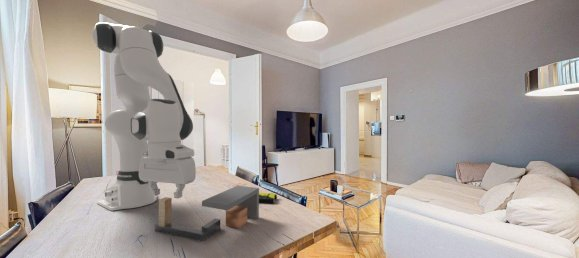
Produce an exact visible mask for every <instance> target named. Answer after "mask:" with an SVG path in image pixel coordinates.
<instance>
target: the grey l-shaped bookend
mask: <svg viewBox="0 0 579 258" xmlns="http://www.w3.org/2000/svg"><path fill="white" fill-rule="evenodd" d="M259 193H260V188H259V187H253V186H245V185H244V186H243V185H236V186H233V187H231V188H228V189H227V190H224V191H222V192H220V193H217V194H215V195H212V196H210V197H208V198H206V199H203V200H201V207H205V208H211V209H216V210H223V211H226V210H227V211H228V210H229V209H231V208H233V207H235V206H242V207H247V219H248V218H249V219H255V220H257V219H259V217H260V216H259V215H260V214H259V213H260V212H259V211H260V209H259V208H260V205H259V204H260V203H259Z"/></svg>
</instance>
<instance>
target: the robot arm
mask: <svg viewBox="0 0 579 258" xmlns="http://www.w3.org/2000/svg"><path fill="white" fill-rule="evenodd" d="M92 39H93V41H94V44H95V45H96V47H97V48H98V49H99V50H100V51H103V52H105V53H109V54H112V53H113V54H115V55H114V63H113V64H114V65H113V73H114V83H115V91H116V96H117V99H119V100H120V101H121V102H122V104H123V105H124V108H125V109H117V110H113V111H111V112H110V113H108V114H107V116H106V117H105V120H104V127H105V129H106V130H107V131H108V133H110V134H111V135H112V136H113V137H114V140H115V142H116V145H117V148H118V151H119V170H117V172H116V176H117V177H116V180H115V181H113V183H111V184H110V185H109V186H108V187H107V188H106V190H105V191H104V198H102V199H99V200H98V201H97V204H98V205H99V206H101V207H103V208H105V209H107V210H109V211H117V210H118V211H119V210H123V209H124V210H125V209H134V208H140V207H143V206H147V205H150V204H153V203H155V202H156V201H157V198H158V197H159V195H160V194H161V188H159V187H158V183H165V184H167V183H168V184H175V187H176V190H175V191H174V192H173V198H174V199H181V198H183V191H184V189H185V186H186V185H189V184H191V183H193V182H194V181H195V179H196V177H197V175H196V173H197V172H196V171H197V170H196V163H195V159H194V158H193V157H194V156H195V150H194V149H193V148H191V147H188V146H186V145H184V144H182V141H184V140H185V139H187V138H188V137H190V135H191V134H192V132H193V130H194V124H193V120H192V118H191V117H190V115H189V114H188V112H187V109H186V108H185V105H184V102H183V100H182V97H181V96H180V93H179V91H178V88H177V86H176V83H175V81H174V79H173V78H172V76H171V74H170V73H168V72H167V71H166V69H164V67H163V66H162V64H161V63H160V61H159V59H158V58H160V57H161V56H162V55H163V51H164V49H165V48H164V47H165V46H164V42H163V41H164V40H163V38H162V36H161V35H160V34H159V33H157V32H155V31H152V30H146V29H145V28H141V27H139V26H133V25H132V26H131V25H130V26H129V25H124V24H117V23H116V24H115V23H109V22H107V21H106V22H105V21H103V22H100V21H99V22H97V23H95V25H94V28H93V29H92ZM149 87H150V88H152V89H154V90H156V91H157V92H158V93H160V94H161V95H162V96H163V99H162V98H151V95H150V90H149Z"/></svg>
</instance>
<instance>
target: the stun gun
mask: <svg viewBox="0 0 579 258" xmlns="http://www.w3.org/2000/svg"><path fill="white" fill-rule="evenodd" d="M277 194H278V193H272V192H259V204H266V205H267V204H271V205H274V204H275V202H276V200H277V198H278V195H277Z"/></svg>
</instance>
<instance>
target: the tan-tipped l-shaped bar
mask: <svg viewBox="0 0 579 258" xmlns="http://www.w3.org/2000/svg"><path fill="white" fill-rule="evenodd" d="M172 200H173V199H172V197H161V198H159V199H158V222H157V223H155V224H154V232H156V233H162V234H164V235H165V234H166V235H171V236H176V237H179V238H184V239H189V240H193V241H198V242H200V243H201V242H204V241H206V240H207V239H208V238H210V237H211V236H213V235H215V233H217V232H218V231H219V230H221V218H214V219H212V220H210V221H208V222H207V223H206V224H204V225H202V226H201V229H198V228H193V227H188V226H183V225H179V224H172V207H173V206H172Z"/></svg>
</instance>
